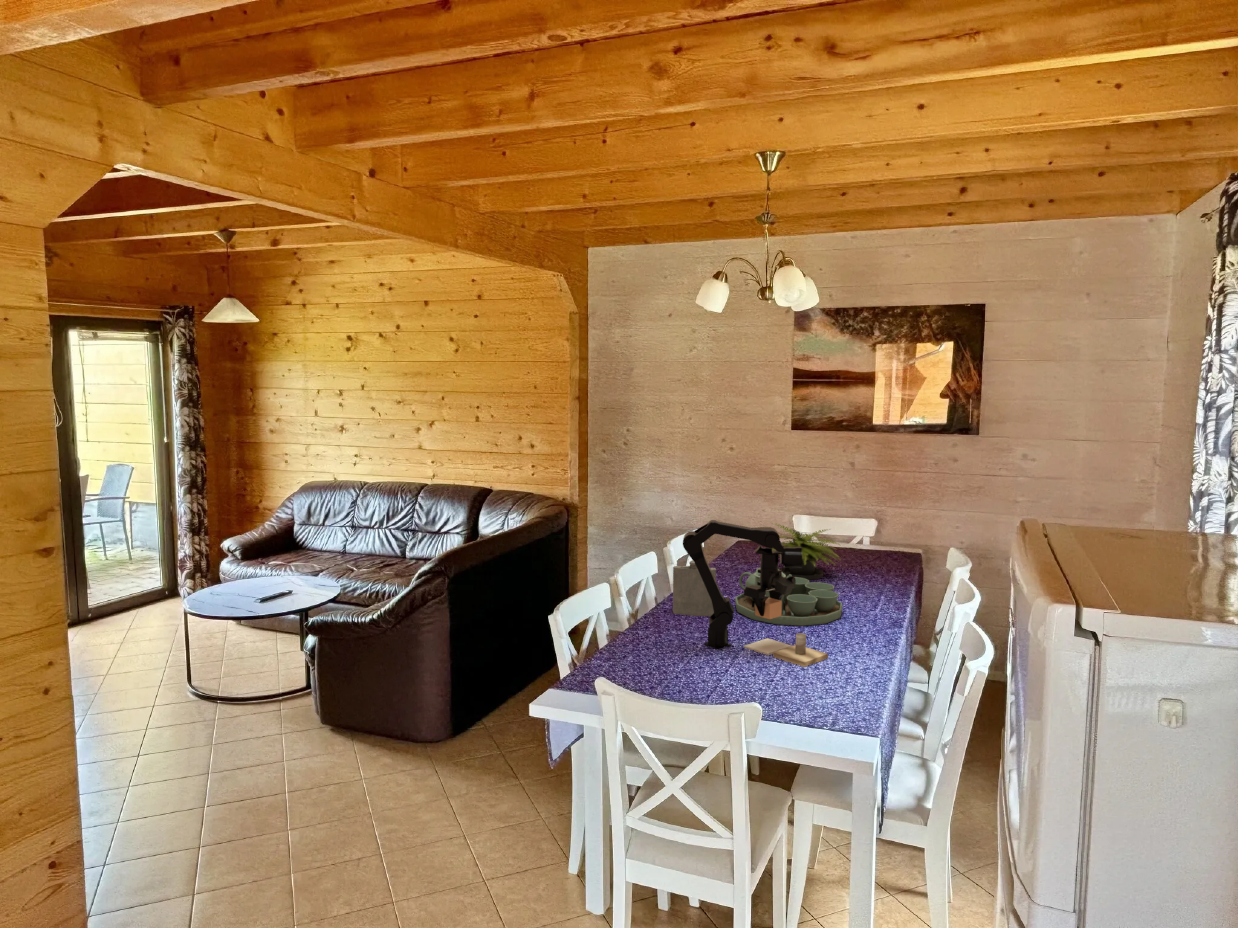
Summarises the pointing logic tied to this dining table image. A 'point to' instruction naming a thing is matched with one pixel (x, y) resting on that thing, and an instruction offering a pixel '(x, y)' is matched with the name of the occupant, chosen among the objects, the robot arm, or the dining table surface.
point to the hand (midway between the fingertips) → (768, 613)
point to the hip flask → (690, 592)
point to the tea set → (795, 603)
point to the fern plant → (807, 554)
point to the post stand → (800, 653)
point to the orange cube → (771, 609)
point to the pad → (767, 646)
